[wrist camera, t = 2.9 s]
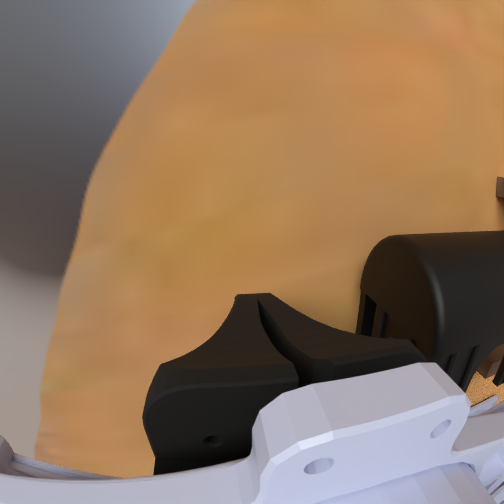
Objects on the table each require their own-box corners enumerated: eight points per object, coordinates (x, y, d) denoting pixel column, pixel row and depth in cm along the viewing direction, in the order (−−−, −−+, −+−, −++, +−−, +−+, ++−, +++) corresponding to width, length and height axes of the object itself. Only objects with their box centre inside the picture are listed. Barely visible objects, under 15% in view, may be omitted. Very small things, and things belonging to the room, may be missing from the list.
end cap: (491, 217, 14) (576, 246, 8) (472, 321, 16) (537, 372, 10) (356, 217, 13) (457, 265, 7) (344, 351, 15) (402, 441, 9)
